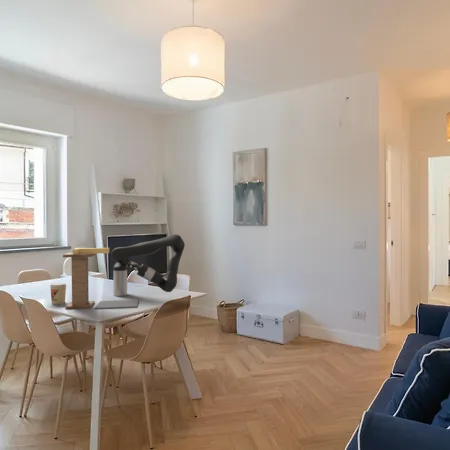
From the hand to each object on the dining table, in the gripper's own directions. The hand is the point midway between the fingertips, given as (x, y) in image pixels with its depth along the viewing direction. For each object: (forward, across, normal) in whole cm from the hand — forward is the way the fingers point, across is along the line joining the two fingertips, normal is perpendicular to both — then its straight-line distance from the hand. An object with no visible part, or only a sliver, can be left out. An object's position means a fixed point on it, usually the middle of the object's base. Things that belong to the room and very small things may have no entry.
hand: (122, 260), depth 241 cm
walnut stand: (+8, 0, +36) cm, 37 cm away
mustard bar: (+18, 0, +5) cm, 19 cm away
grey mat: (-11, 0, +26) cm, 28 cm away
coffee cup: (+22, -13, +45) cm, 51 cm away
